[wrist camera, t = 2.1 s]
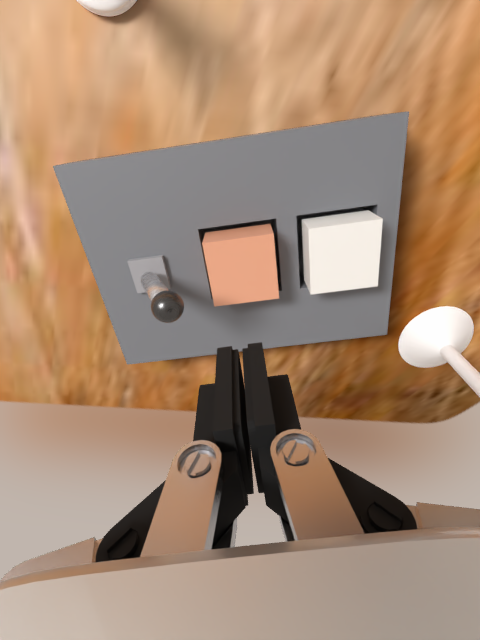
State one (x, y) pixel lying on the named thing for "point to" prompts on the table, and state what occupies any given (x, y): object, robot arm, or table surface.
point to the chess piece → (107, 6)
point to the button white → (341, 251)
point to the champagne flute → (440, 342)
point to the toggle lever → (162, 299)
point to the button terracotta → (241, 264)
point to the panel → (236, 212)
